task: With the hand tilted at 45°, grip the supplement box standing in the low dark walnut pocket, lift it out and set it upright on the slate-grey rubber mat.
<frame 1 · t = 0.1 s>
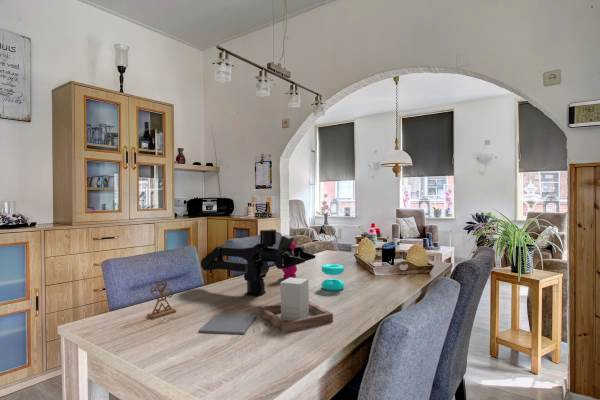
hand: (310, 258, 131), 17 cm above the table, tool horizontal, fingers open, 9 cm apart
brown openwork stand: (162, 315, 118), on the table
slate mat: (228, 324, 108), on the table
donuts: (332, 288, 151), on the table
pepper mill: (289, 278, 169), on the table
walnut pocket: (295, 317, 114), on the table
supplement box: (295, 318, 114), resting in walnut pocket
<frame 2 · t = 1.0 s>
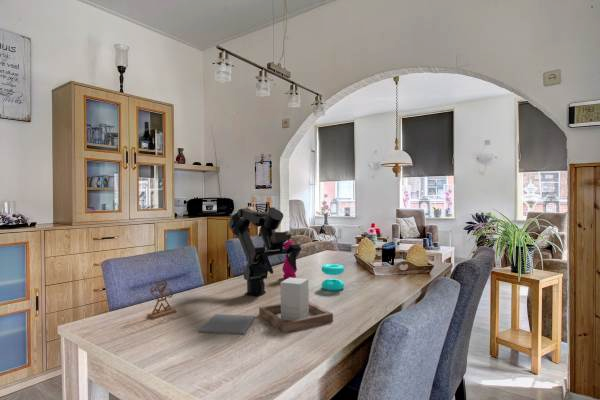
hand: (284, 271, 121), 14 cm above the table, tool tilted 45°, fingers open, 9 cm apart
nothing on the table moved.
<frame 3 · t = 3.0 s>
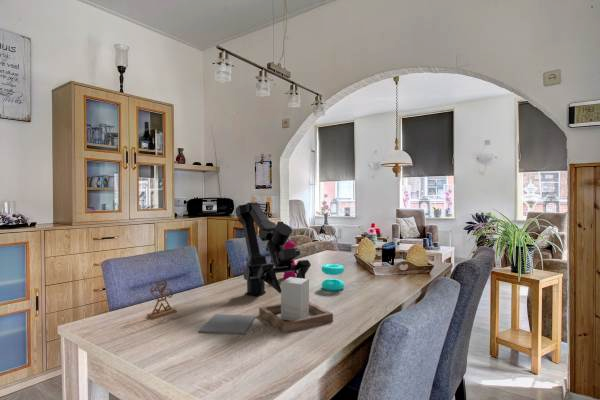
hand: (292, 290, 115), 9 cm above the table, tool tilted 45°, fingers open, 9 cm apart
supplement box: (295, 318, 114), resting in walnut pocket, touching gripper
everything else where it was.
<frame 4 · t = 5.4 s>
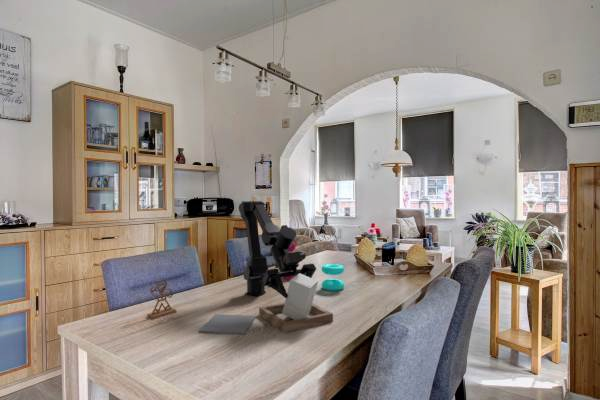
hand: (299, 295, 112), 8 cm above the table, tool tilted 50°, fingers closed on supplement box, 9 cm apart
supplement box: (295, 314, 114), point 1 cm above the table, touching gripper
everything else where it was.
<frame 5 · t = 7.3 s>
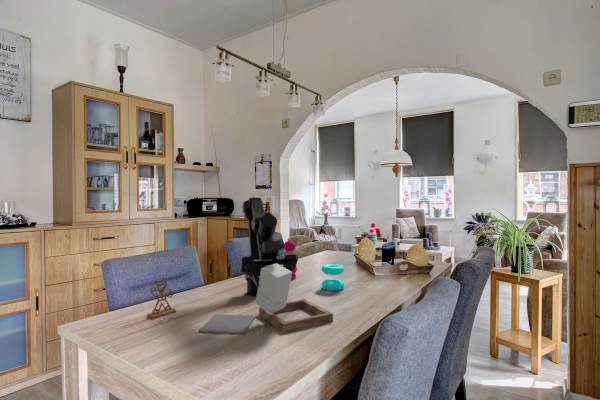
hand: (272, 285, 109), 12 cm above the table, tool tilted 45°, fingers closed on supplement box, 9 cm apart
supplement box: (270, 305, 111), point 5 cm above the table, touching gripper
everything else where it was.
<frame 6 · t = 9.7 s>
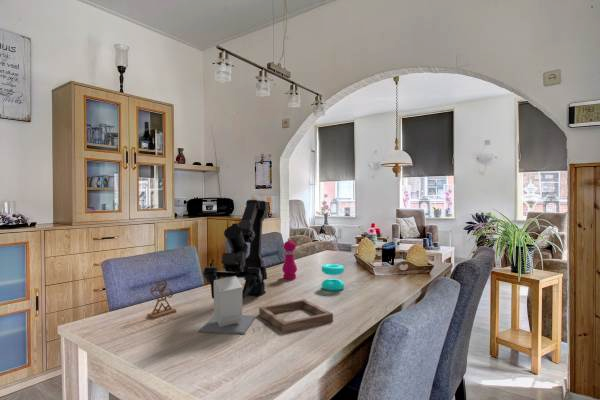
hand: (227, 298, 107), 9 cm above the table, tool tilted 45°, fingers closed on supplement box, 9 cm apart
supplement box: (227, 318, 109), point 2 cm above the table, touching gripper, slate mat
everything else where it was.
when the fingers open (8 cm above the table, at t = 11.5 s): supplement box stays where it is, resting on slate mat.
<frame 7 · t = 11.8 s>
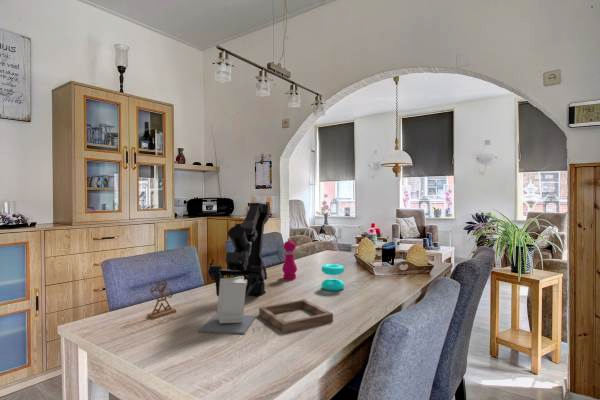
hand: (231, 296, 111), 8 cm above the table, tool tilted 45°, fingers open, 9 cm apart
supplement box: (229, 320, 110), point 1 cm above the table, touching slate mat
everything else where it was.
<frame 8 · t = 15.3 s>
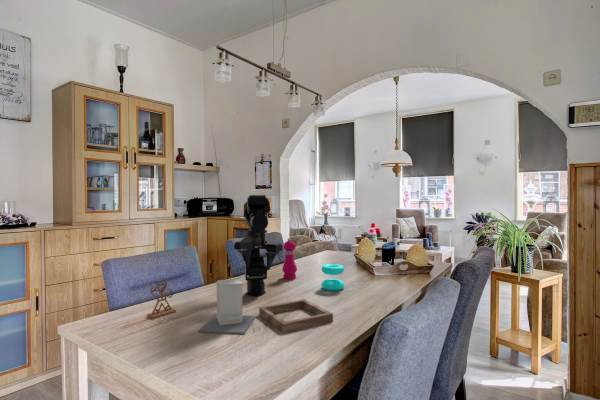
hand: (258, 268, 130), 13 cm above the table, tool pointing down, fingers open, 9 cm apart
at the end: supplement box inside the target area on the slate mat (1.7 cm from its centre), point 0.4 cm above the slate mat's base; supplement box tilted 0°; the gripper is holding nothing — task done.
